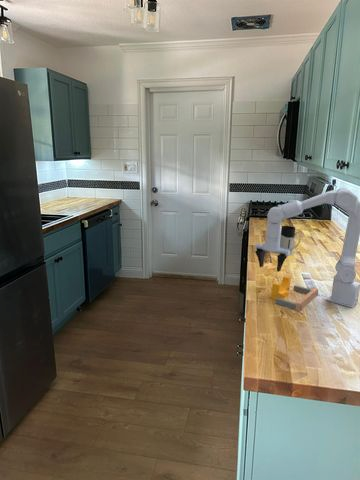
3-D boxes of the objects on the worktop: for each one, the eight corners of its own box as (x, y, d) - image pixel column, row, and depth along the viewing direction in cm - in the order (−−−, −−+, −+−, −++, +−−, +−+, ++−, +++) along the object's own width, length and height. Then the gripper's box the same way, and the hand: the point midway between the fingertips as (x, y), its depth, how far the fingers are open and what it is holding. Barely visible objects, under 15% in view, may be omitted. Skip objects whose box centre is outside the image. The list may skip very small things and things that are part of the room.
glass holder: (286, 249, 201) (289, 225, 197) (304, 256, 189) (307, 230, 185) (274, 251, 198) (277, 226, 194) (292, 258, 185) (295, 231, 181)
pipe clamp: (281, 301, 132) (283, 286, 130) (271, 298, 135) (272, 283, 133) (293, 292, 141) (295, 278, 139) (283, 289, 144) (284, 275, 142)
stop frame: (317, 295, 138) (318, 288, 137) (299, 311, 124) (300, 303, 123) (294, 289, 144) (295, 282, 143) (275, 303, 130) (275, 296, 129)
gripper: (294, 238, 135) (290, 270, 139) (260, 232, 144) (258, 262, 147) (287, 241, 130) (283, 274, 133) (253, 235, 139) (250, 266, 142)
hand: (269, 268), depth 140 cm, fingers open, 7 cm apart
